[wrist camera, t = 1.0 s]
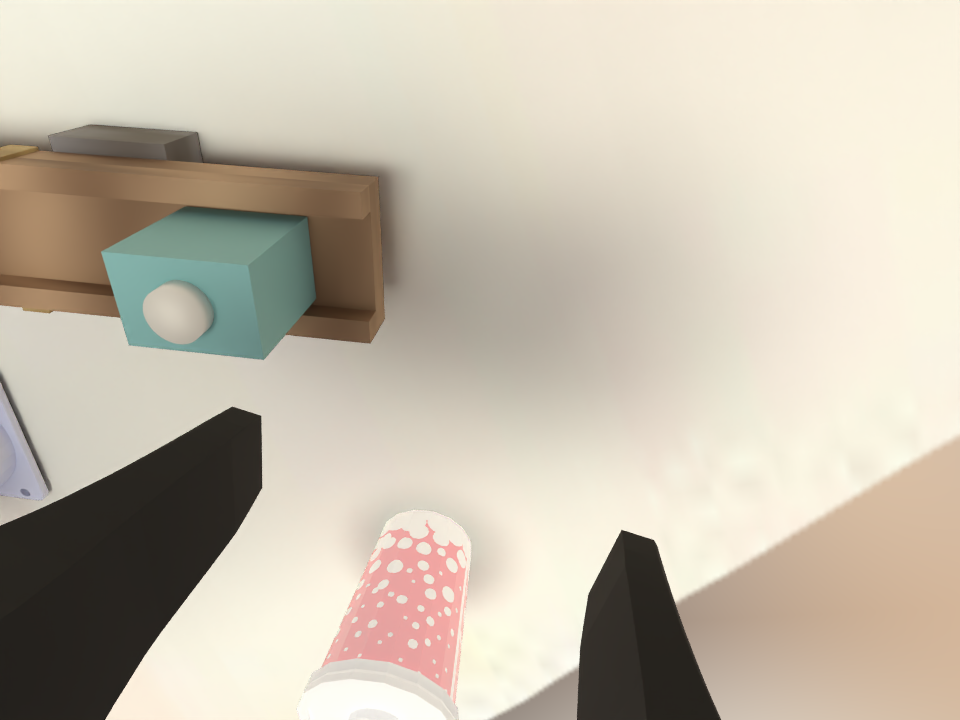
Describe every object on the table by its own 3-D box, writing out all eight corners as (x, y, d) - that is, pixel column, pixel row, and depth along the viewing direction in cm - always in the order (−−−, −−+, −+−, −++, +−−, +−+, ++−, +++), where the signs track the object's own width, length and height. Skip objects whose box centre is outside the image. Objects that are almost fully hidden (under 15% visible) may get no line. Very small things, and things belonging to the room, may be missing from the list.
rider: (202, 287, 21) (115, 356, 17) (185, 206, 19) (84, 260, 15) (316, 298, 20) (254, 370, 16) (307, 216, 19) (236, 274, 15)
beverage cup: (350, 501, 29) (197, 846, 17) (472, 493, 28) (396, 859, 16) (386, 586, 32) (276, 930, 20) (498, 582, 31) (450, 949, 19)
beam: (-25, 265, 25) (-113, 305, 22) (-89, 111, 22) (-203, 131, 19) (399, 306, 23) (370, 356, 20) (393, 146, 20) (359, 174, 17)
